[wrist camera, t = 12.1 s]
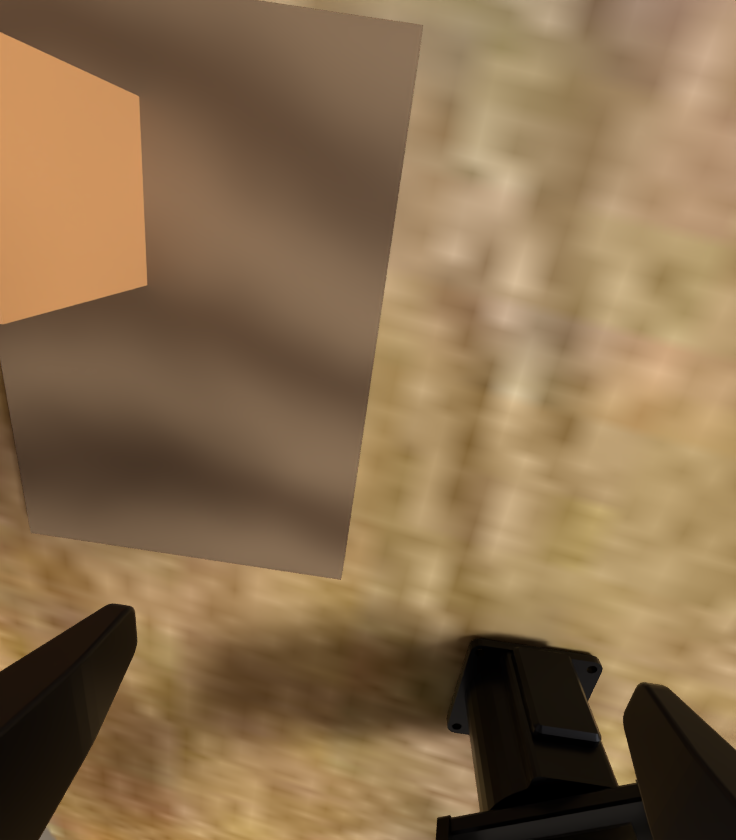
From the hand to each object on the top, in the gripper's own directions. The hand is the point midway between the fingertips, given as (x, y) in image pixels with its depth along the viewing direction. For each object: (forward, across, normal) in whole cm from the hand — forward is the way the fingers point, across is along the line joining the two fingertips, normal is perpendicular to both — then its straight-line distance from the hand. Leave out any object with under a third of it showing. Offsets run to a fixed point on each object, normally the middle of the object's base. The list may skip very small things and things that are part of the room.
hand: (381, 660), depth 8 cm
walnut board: (+12, +8, -2) cm, 14 cm away
